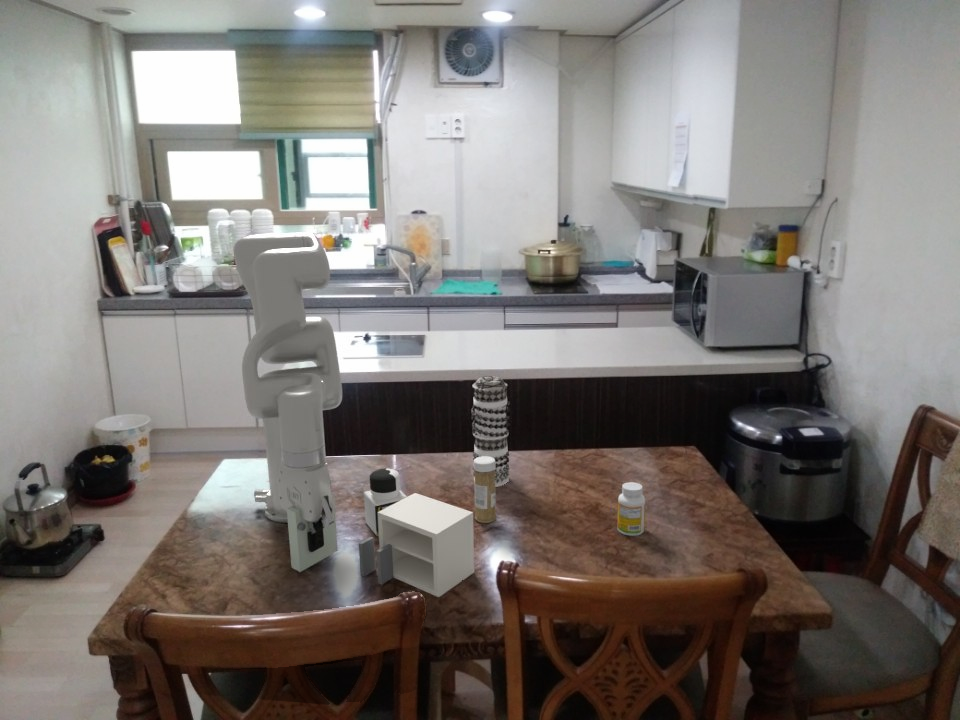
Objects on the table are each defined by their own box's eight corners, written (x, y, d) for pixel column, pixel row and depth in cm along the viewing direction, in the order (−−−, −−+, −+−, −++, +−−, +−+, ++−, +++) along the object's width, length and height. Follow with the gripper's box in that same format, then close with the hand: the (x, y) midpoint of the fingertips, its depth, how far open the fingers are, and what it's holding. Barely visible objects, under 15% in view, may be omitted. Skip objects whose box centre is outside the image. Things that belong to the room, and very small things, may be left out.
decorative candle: (515, 485, 170) (515, 382, 164) (476, 489, 168) (474, 385, 162) (505, 470, 178) (504, 372, 172) (468, 474, 176) (466, 375, 170)
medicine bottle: (376, 537, 147) (373, 482, 144) (365, 522, 153) (361, 469, 150) (409, 528, 150) (407, 474, 147) (396, 515, 156) (394, 462, 153)
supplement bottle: (627, 521, 152) (628, 478, 149) (649, 530, 148) (651, 485, 146) (611, 530, 148) (613, 486, 146) (634, 539, 144) (636, 494, 142)
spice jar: (500, 520, 153) (499, 460, 150) (482, 526, 151) (481, 465, 147) (488, 512, 157) (487, 453, 154) (470, 517, 155) (469, 458, 151)
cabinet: (360, 575, 133) (356, 515, 130) (409, 546, 143) (406, 490, 140) (427, 605, 124) (424, 541, 121) (474, 572, 134) (473, 512, 130)
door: (291, 567, 134) (286, 508, 130) (329, 546, 140) (325, 490, 137) (303, 573, 132) (298, 513, 128) (340, 552, 138) (336, 495, 135)
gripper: (258, 450, 131) (267, 540, 137) (317, 473, 122) (324, 570, 127) (291, 437, 137) (298, 524, 142) (350, 459, 128) (356, 551, 133)
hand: (310, 545), depth 135 cm, fingers closed on door, 2 cm apart
